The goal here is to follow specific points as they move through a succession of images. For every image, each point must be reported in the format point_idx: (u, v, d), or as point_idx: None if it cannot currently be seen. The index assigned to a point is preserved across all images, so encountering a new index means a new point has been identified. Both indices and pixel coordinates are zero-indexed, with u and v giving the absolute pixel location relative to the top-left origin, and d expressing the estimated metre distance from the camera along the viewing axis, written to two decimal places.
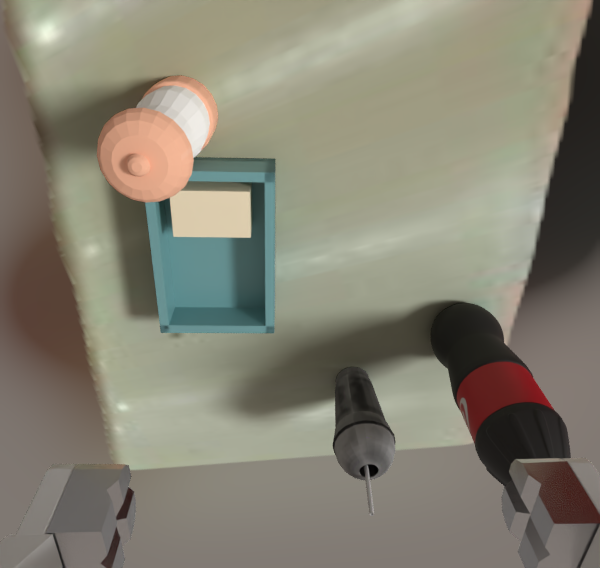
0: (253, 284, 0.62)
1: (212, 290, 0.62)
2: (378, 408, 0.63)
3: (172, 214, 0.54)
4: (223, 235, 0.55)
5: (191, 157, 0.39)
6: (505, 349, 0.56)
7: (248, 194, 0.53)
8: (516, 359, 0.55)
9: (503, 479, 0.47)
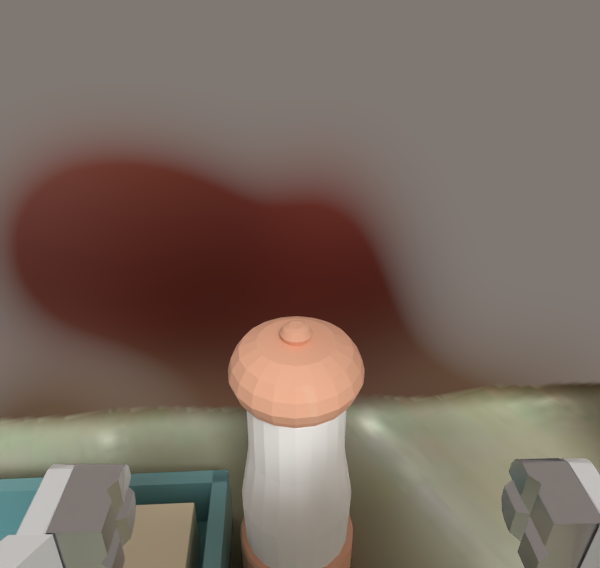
0: None
1: None
2: None
3: (153, 506, 0.33)
4: None
5: (301, 412, 0.24)
6: None
7: None
8: None
9: None
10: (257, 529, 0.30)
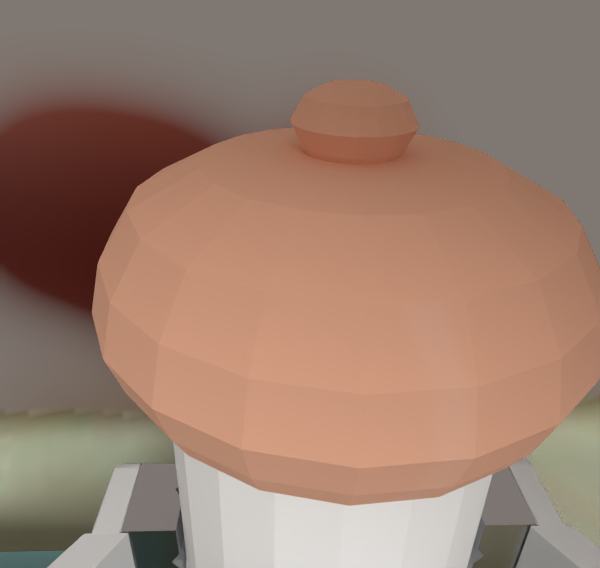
0: None
1: None
2: None
3: None
4: None
5: (393, 436, 0.05)
6: None
7: None
8: None
9: None
10: None
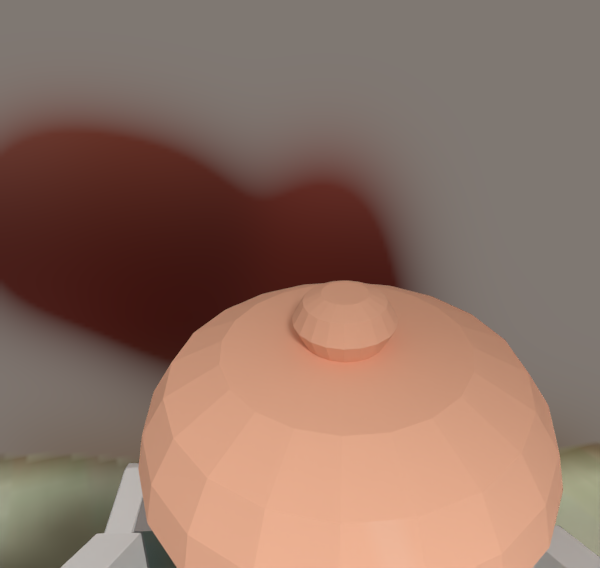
0: None
1: None
2: None
3: None
4: None
5: None
6: None
7: None
8: None
9: None
10: None
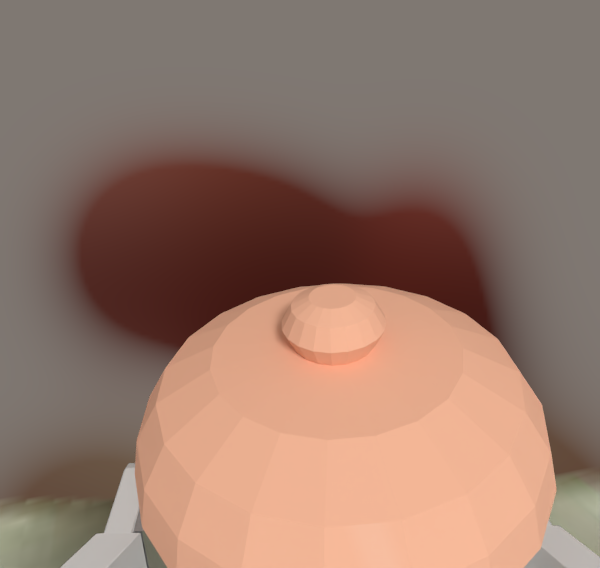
0: None
1: None
2: None
3: None
4: None
5: None
6: None
7: None
8: None
9: None
10: None
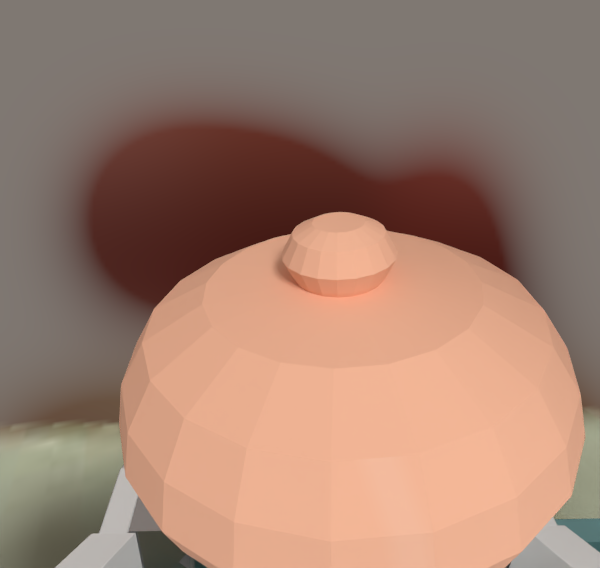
0: None
1: None
2: None
3: None
4: None
5: None
6: None
7: None
8: None
9: None
10: None
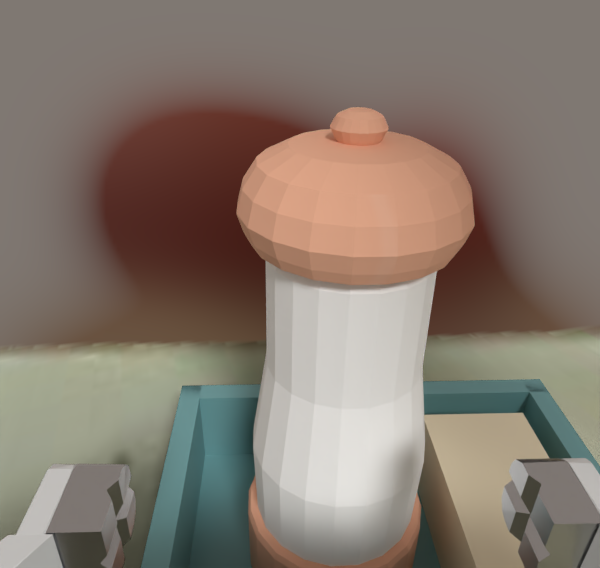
0: None
1: (245, 530, 0.25)
2: None
3: (472, 415, 0.26)
4: (459, 505, 0.21)
5: (366, 244, 0.13)
6: None
7: None
8: None
9: None
10: (273, 486, 0.19)
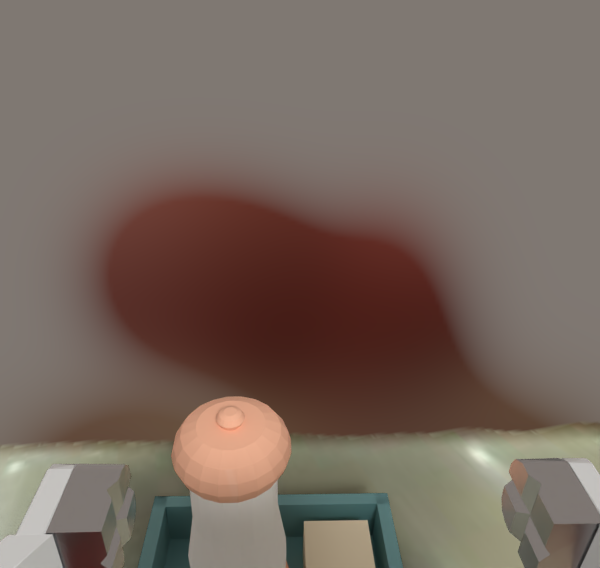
0: None
1: None
2: None
3: (335, 521, 0.41)
4: None
5: (223, 491, 0.28)
6: None
7: None
8: None
9: None
10: None
